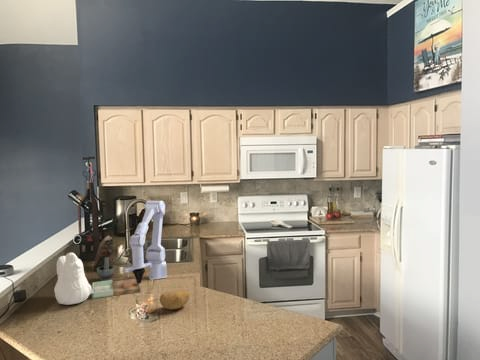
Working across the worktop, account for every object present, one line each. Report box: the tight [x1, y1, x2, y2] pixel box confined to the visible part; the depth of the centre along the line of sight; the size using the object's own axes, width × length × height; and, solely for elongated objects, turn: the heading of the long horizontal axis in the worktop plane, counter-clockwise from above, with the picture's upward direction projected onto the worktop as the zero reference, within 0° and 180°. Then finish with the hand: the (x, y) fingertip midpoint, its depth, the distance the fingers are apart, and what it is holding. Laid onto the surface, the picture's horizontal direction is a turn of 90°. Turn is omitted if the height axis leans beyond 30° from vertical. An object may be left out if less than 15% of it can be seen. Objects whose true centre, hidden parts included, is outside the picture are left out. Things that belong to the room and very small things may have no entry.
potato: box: [159, 289, 191, 311], centre depth 173 cm, size 10×14×8 cm
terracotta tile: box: [123, 279, 133, 288], centre depth 199 cm, size 4×4×2 cm
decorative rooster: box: [53, 251, 92, 306], centre depth 186 cm, size 25×16×25 cm, turn 34°
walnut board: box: [112, 278, 141, 297], centre depth 201 cm, size 13×17×2 cm
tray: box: [91, 279, 115, 300], centre depth 197 cm, size 10×17×3 cm, turn 20°
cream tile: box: [95, 285, 105, 292], centre depth 196 cm, size 4×4×2 cm
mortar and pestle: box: [96, 257, 116, 282], centre depth 217 cm, size 11×9×12 cm
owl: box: [92, 234, 116, 270], centre depth 237 cm, size 13×13×20 cm
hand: (139, 282), depth 201 cm, fingers closed
